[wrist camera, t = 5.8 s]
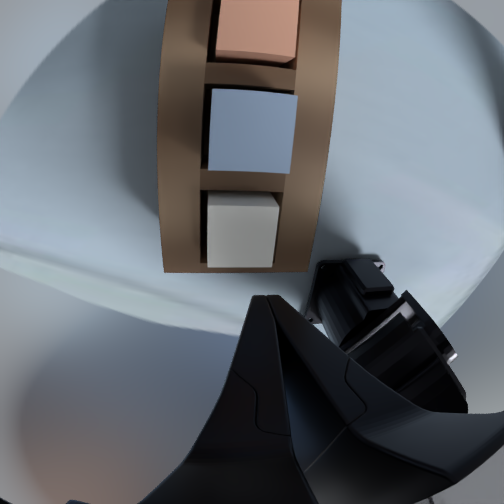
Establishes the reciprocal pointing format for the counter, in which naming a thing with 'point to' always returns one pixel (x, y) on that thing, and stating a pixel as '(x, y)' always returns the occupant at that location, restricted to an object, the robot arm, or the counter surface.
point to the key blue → (251, 131)
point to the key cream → (241, 228)
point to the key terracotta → (257, 32)
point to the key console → (198, 132)
